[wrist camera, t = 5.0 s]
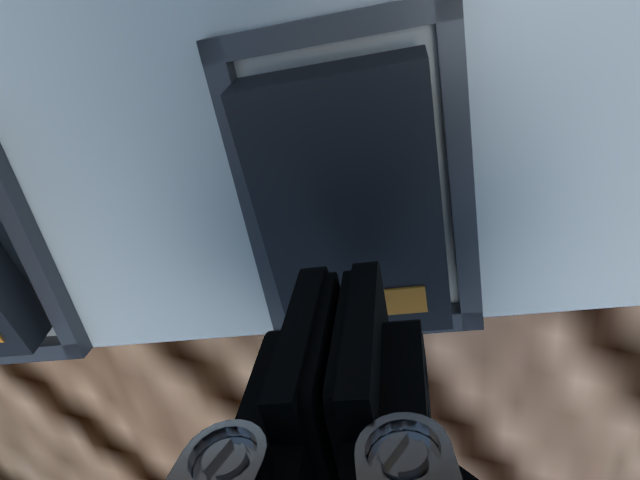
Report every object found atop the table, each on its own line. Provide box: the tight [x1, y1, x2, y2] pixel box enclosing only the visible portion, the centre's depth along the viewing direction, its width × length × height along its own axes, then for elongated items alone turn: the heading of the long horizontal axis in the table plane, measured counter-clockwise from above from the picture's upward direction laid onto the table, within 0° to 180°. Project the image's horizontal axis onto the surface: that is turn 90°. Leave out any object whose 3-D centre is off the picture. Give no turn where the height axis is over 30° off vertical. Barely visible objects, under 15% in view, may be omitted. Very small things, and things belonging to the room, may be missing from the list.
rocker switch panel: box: [0, 0, 640, 364], centre depth 16 cm, size 14×49×5 cm, turn 100°
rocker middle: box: [220, 44, 453, 331], centre depth 13 cm, size 7×4×2 cm, turn 11°
